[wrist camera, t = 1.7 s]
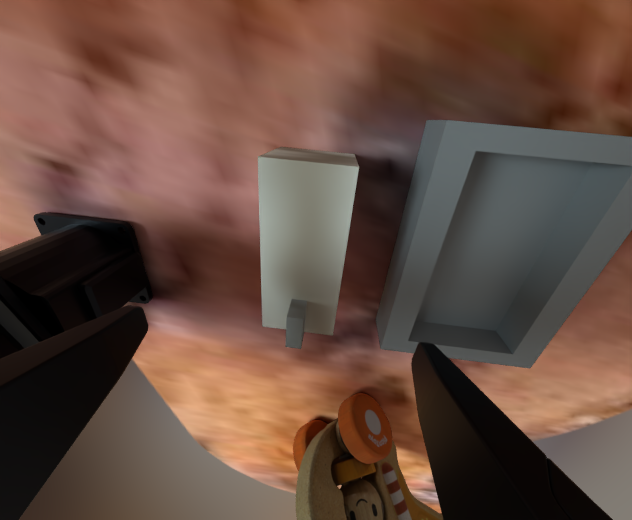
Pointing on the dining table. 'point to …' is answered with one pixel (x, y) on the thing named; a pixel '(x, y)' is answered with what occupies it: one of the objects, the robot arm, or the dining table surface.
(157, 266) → the dining table surface
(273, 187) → the white block with tab
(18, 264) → the robot arm
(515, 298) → the cradle
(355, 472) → the toy helicopter
